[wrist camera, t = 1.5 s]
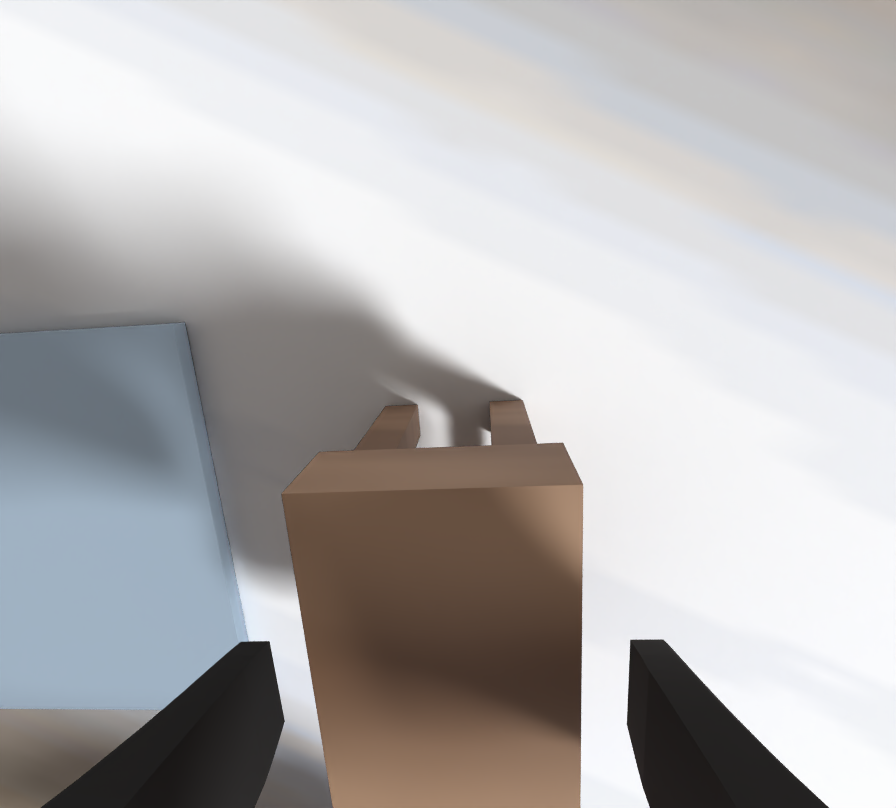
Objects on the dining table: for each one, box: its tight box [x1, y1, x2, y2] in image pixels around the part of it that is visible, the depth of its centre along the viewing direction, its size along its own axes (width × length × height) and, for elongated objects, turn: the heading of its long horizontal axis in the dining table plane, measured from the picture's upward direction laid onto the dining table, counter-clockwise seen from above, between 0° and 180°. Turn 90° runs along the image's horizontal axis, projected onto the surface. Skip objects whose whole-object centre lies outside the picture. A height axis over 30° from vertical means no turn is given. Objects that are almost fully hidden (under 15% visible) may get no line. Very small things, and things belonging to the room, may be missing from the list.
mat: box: [0, 323, 249, 710], centre depth 17 cm, size 14×14×1 cm
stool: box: [281, 400, 583, 808], centre depth 13 cm, size 9×5×7 cm, turn 4°
